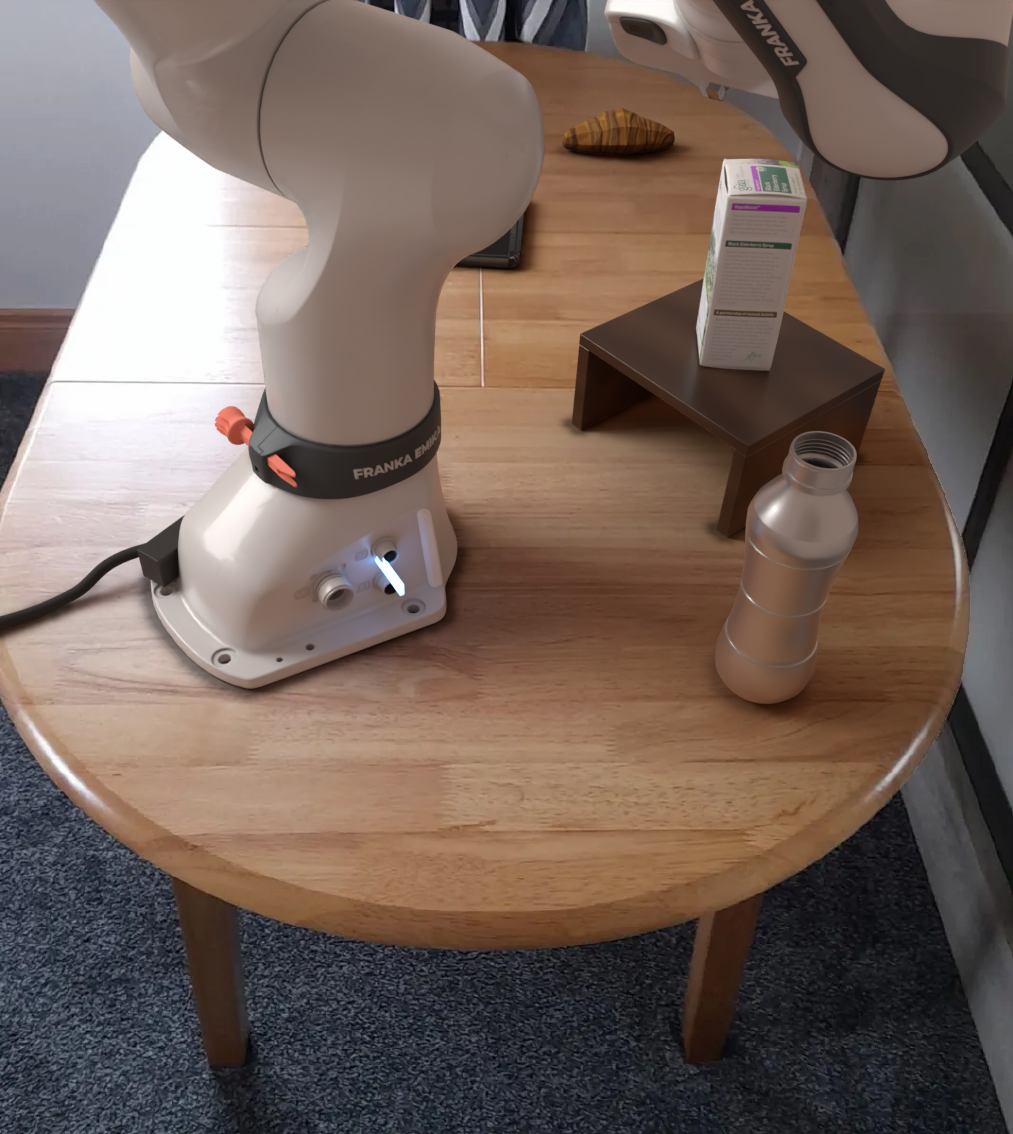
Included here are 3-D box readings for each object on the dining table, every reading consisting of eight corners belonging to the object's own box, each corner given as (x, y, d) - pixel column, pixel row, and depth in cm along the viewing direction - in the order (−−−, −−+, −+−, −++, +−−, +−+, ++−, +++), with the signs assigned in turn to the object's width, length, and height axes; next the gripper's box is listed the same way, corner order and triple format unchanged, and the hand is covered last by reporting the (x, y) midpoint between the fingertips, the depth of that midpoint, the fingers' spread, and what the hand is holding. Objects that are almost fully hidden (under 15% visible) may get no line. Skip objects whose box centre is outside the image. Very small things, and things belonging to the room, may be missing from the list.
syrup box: (772, 372, 90) (814, 197, 80) (696, 367, 90) (728, 192, 80) (764, 332, 94) (803, 160, 84) (691, 327, 94) (721, 155, 84)
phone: (441, 254, 116) (454, 184, 127) (441, 264, 117) (454, 194, 128) (520, 259, 116) (526, 189, 127) (520, 269, 117) (526, 198, 127)
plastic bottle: (818, 715, 77) (900, 486, 63) (718, 718, 77) (779, 488, 63) (794, 642, 82) (865, 414, 68) (699, 646, 81) (752, 416, 68)
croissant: (566, 164, 134) (570, 122, 131) (556, 138, 139) (559, 97, 136) (680, 161, 136) (686, 119, 132) (666, 136, 141) (672, 95, 137)
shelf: (727, 537, 90) (749, 446, 83) (571, 423, 99) (579, 333, 93) (857, 458, 97) (885, 368, 91) (700, 359, 107) (716, 272, 101)
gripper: (962, -22, 62) (952, 98, 75) (619, -92, 69) (664, 29, 82) (915, 89, 63) (914, 189, 76) (578, 9, 69) (630, 113, 82)
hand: (782, 105), depth 79 cm, fingers open, 8 cm apart
